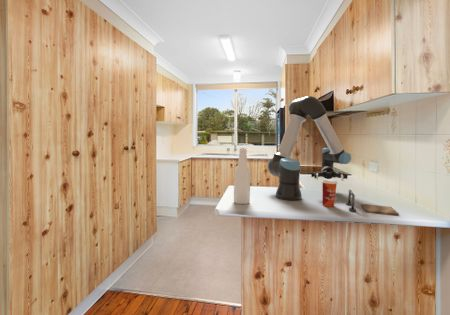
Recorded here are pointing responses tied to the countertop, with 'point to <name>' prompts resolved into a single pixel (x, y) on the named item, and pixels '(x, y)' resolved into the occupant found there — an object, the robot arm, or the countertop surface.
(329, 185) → the paper cup
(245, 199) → the alcohol
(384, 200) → the countertop surface
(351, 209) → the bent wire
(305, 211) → the countertop surface
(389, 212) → the walnut board
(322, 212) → the countertop surface
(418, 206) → the countertop surface
